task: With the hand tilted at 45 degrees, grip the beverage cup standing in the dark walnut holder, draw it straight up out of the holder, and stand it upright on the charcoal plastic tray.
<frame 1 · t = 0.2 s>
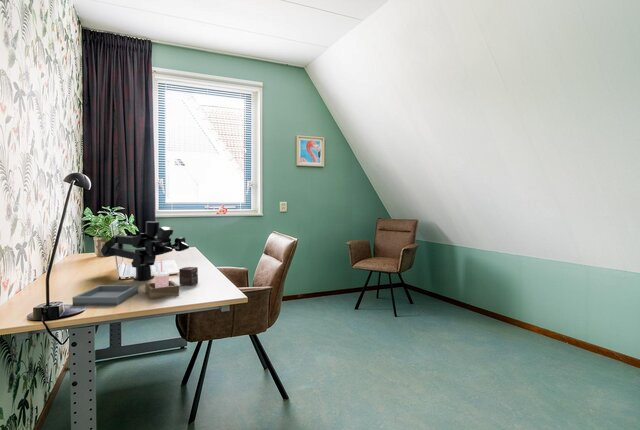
hand: (180, 248, 171), 17 cm above the table, tool horizontal, fingers open, 9 cm apart
charcoal tray: (107, 298, 151), on the table
box: (188, 284, 175), on the table
walnut holder: (162, 294, 157), on the table
beverage cup: (162, 294, 157), resting in walnut holder
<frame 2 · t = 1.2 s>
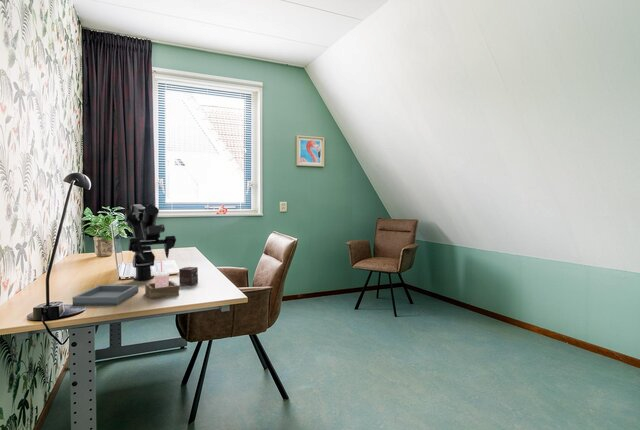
hand: (156, 258, 163), 14 cm above the table, tool tilted 45°, fingers open, 9 cm apart
nothing on the table moved.
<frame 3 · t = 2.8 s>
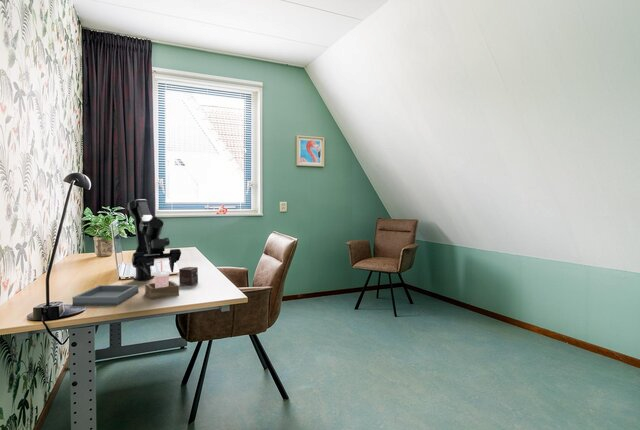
hand: (161, 273, 158), 9 cm above the table, tool tilted 45°, fingers open, 9 cm apart
nothing on the table moved.
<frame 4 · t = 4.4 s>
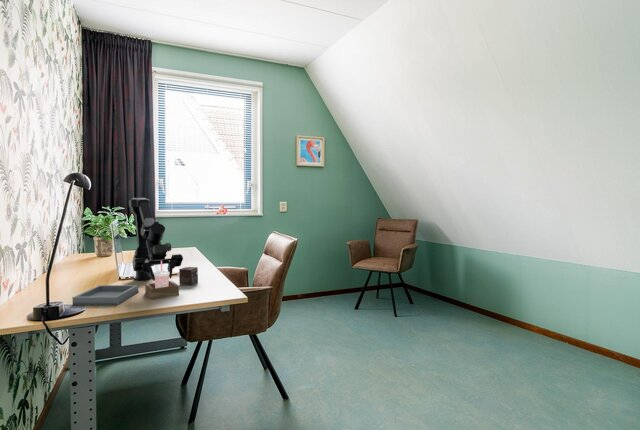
hand: (162, 279, 156), 7 cm above the table, tool tilted 45°, fingers closed on beverage cup, 6 cm apart
beverage cup: (162, 294, 157), resting in walnut holder, touching gripper
everything else where it was.
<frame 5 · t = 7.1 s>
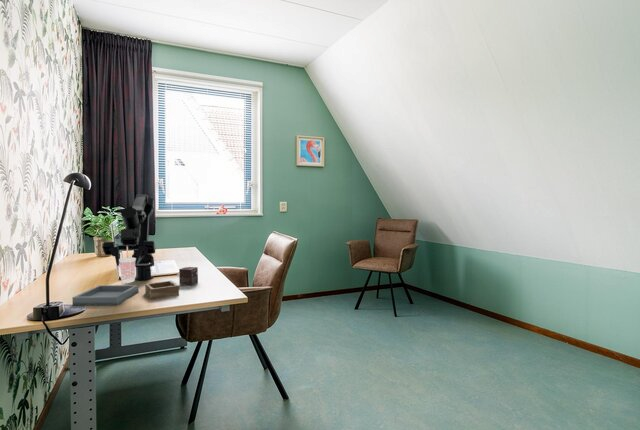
hand: (126, 265, 150), 13 cm above the table, tool tilted 45°, fingers closed on beverage cup, 6 cm apart
beverage cup: (128, 281, 152), point 6 cm above the table, touching gripper
everything else where it was.
when the fingers open (8 cm above the table, at t = 9.8 s): beverage cup stays where it is, resting on charcoal tray.
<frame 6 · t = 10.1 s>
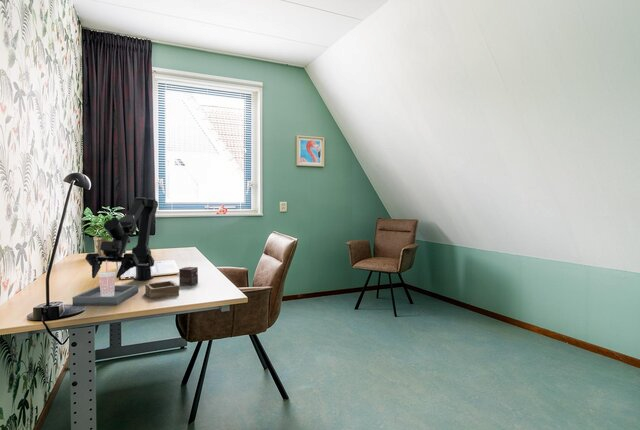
hand: (105, 277, 149), 9 cm above the table, tool tilted 45°, fingers open, 9 cm apart
beverage cup: (107, 296, 151), point 1 cm above the table, touching charcoal tray
everything else where it was.
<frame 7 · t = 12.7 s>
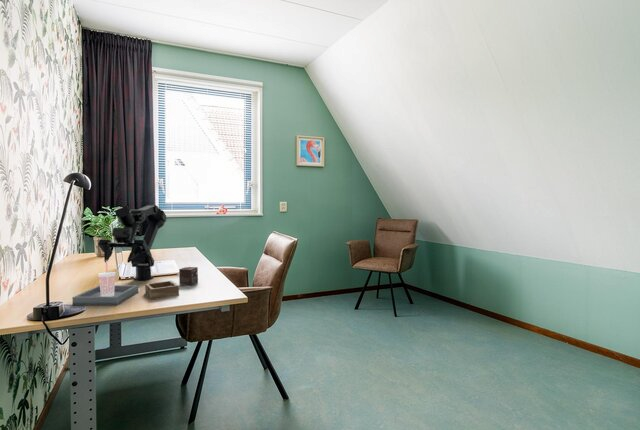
hand: (116, 262, 158), 13 cm above the table, tool tilted 45°, fingers open, 9 cm apart
nothing on the table moved.
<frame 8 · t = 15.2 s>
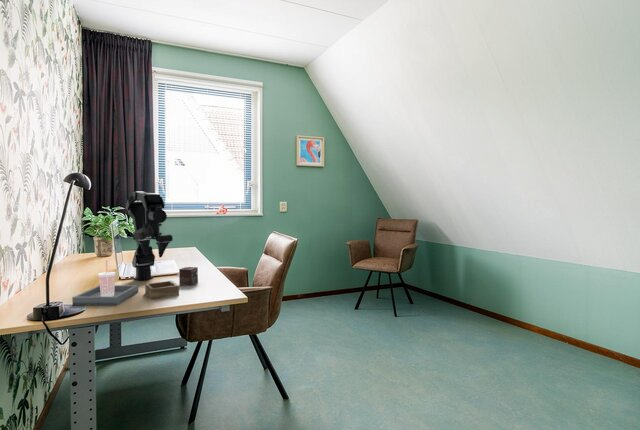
hand: (153, 256, 171), 13 cm above the table, tool pointing down, fingers open, 9 cm apart
nothing on the table moved.
at the end: beverage cup inside the target area on the charcoal tray (0.1 cm from its centre), point 0.8 cm above the charcoal tray's base; beverage cup tilted 0°; the gripper is holding nothing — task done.
